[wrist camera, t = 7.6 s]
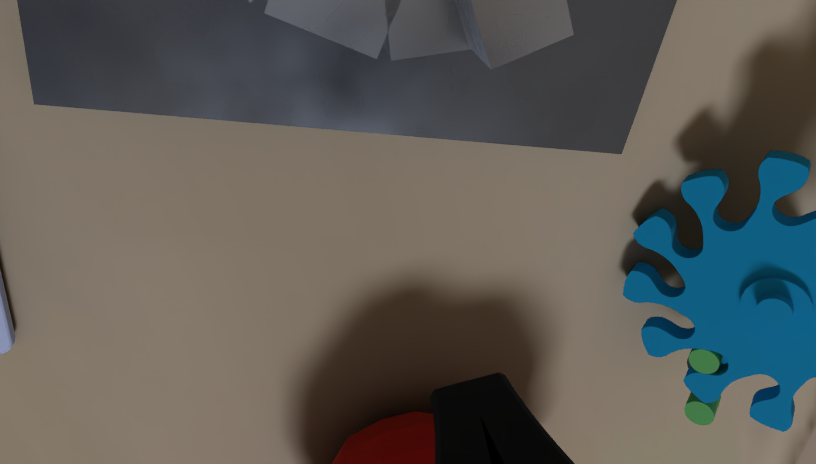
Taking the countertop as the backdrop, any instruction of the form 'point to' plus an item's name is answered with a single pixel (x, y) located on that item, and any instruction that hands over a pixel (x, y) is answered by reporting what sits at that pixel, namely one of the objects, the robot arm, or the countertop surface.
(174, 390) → the countertop surface
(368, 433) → the tomato
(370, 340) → the countertop surface
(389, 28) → the grey block ring
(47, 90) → the flange plate
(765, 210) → the gear
